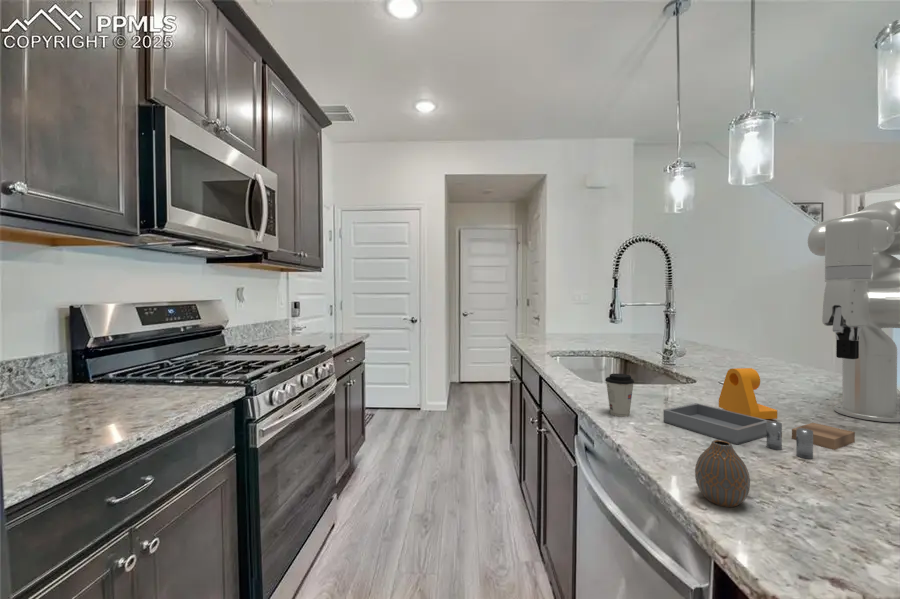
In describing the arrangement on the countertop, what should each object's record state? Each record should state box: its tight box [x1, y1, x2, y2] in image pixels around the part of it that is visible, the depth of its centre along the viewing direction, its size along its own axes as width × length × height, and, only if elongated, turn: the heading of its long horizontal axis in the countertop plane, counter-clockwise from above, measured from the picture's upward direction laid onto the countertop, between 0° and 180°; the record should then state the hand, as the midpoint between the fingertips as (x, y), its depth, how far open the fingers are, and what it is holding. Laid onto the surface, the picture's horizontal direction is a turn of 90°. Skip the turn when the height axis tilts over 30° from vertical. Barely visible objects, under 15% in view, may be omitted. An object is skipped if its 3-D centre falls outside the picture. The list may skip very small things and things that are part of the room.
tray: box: [663, 402, 770, 446], centre depth 94 cm, size 13×17×3 cm
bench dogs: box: [766, 420, 814, 460], centre depth 80 cm, size 2×7×5 cm, turn 26°
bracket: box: [718, 367, 778, 420], centre depth 103 cm, size 11×7×12 cm, turn 3°
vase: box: [694, 439, 751, 508], centre depth 62 cm, size 7×7×9 cm
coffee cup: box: [604, 373, 635, 418], centre depth 105 cm, size 7×7×10 cm
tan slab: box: [791, 422, 856, 451], centre depth 86 cm, size 9×7×2 cm
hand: (847, 358), depth 90 cm, fingers closed
